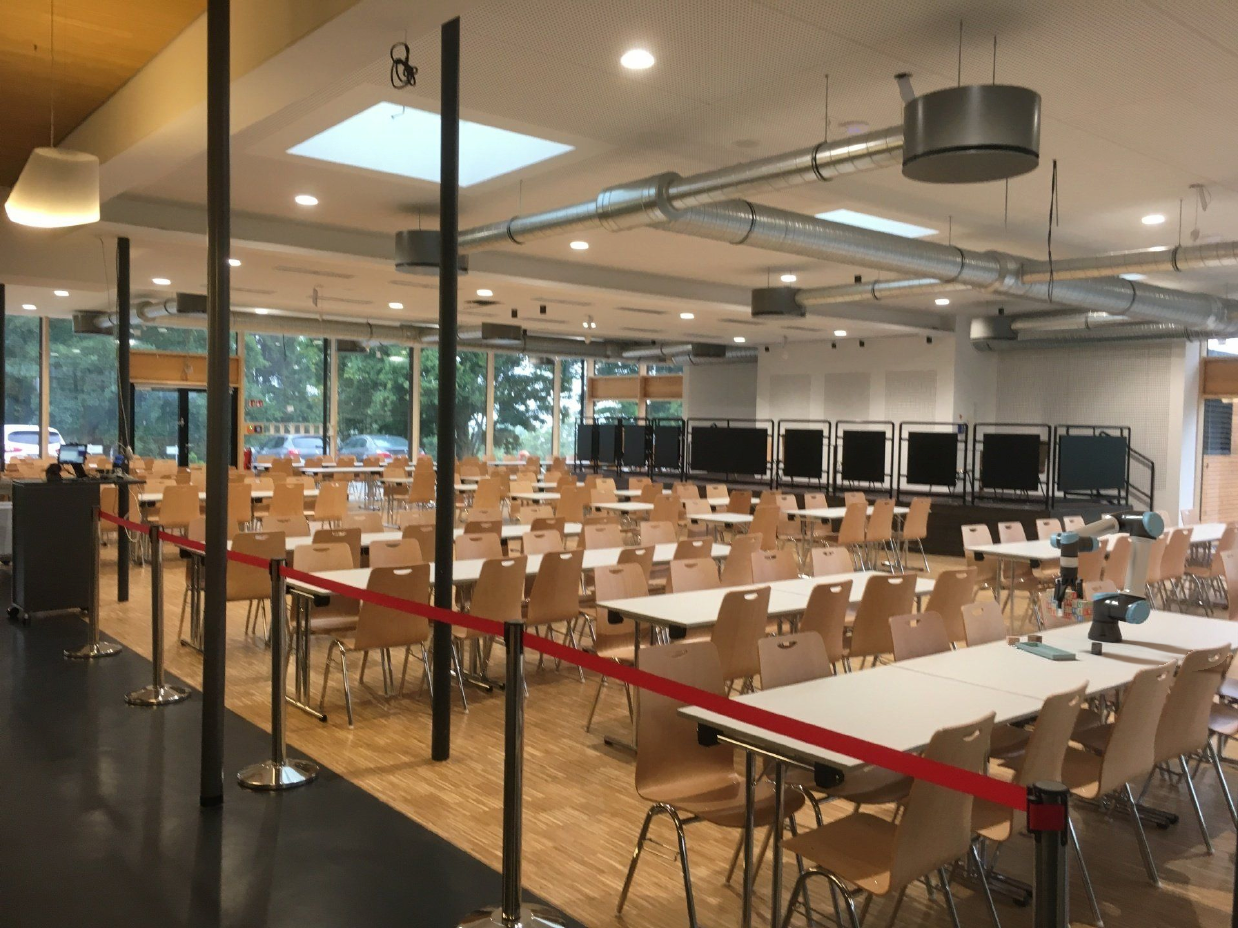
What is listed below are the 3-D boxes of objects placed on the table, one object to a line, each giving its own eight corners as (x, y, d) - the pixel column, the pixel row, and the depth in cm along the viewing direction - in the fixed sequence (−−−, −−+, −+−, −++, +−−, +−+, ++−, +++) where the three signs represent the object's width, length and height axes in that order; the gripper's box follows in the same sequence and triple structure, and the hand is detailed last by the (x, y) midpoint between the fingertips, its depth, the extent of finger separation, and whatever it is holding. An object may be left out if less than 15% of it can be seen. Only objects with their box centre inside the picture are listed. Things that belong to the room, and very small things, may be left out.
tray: (1036, 647, 458) (1037, 641, 458) (1075, 659, 432) (1075, 653, 432) (1014, 647, 455) (1015, 642, 455) (1052, 660, 429) (1052, 654, 429)
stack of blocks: (1092, 621, 444) (1093, 594, 443) (1082, 622, 441) (1082, 595, 441) (1056, 613, 464) (1056, 587, 463) (1045, 614, 461) (1046, 588, 461)
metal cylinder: (1097, 652, 448) (1098, 642, 448) (1103, 655, 443) (1104, 644, 443) (1088, 652, 447) (1089, 642, 447) (1095, 655, 443) (1095, 644, 442)
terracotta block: (1017, 644, 463) (1017, 636, 463) (1019, 646, 459) (1019, 637, 459) (1006, 644, 464) (1006, 635, 464) (1008, 645, 460) (1008, 637, 460)
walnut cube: (1033, 643, 466) (1034, 634, 466) (1041, 645, 462) (1042, 636, 462) (1027, 644, 464) (1027, 635, 464) (1035, 646, 460) (1035, 636, 460)
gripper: (1082, 564, 458) (1080, 613, 459) (1045, 565, 454) (1044, 614, 454) (1093, 566, 451) (1092, 616, 451) (1055, 567, 446) (1054, 617, 447)
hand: (1068, 615), depth 453 cm, fingers closed on stack of blocks, 7 cm apart
